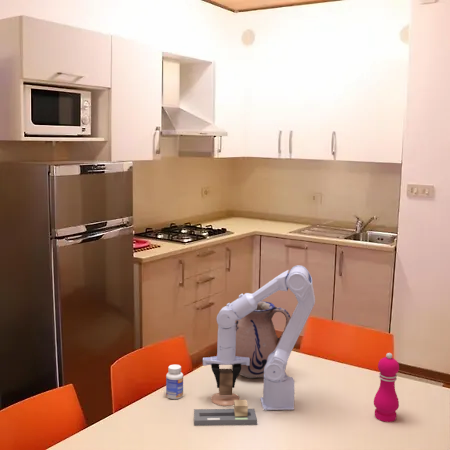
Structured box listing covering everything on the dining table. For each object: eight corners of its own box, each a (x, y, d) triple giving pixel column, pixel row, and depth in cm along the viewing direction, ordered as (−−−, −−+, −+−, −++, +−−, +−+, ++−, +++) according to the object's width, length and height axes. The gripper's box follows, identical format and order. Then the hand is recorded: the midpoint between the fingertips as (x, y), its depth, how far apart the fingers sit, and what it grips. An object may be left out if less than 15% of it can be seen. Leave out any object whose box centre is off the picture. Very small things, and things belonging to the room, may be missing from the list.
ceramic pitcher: (231, 362, 211) (233, 296, 207) (289, 366, 208) (291, 299, 204) (225, 381, 194) (226, 310, 190) (287, 386, 191) (290, 314, 187)
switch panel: (254, 413, 171) (254, 408, 171) (257, 424, 164) (257, 419, 164) (194, 413, 170) (194, 408, 170) (194, 425, 163) (194, 420, 163)
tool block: (231, 389, 182) (231, 368, 181) (232, 395, 178) (232, 373, 177) (218, 389, 182) (219, 368, 181) (219, 395, 178) (219, 373, 177)
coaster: (238, 393, 185) (238, 391, 185) (240, 405, 176) (241, 404, 176) (210, 393, 184) (210, 392, 184) (211, 406, 175) (211, 404, 175)
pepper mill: (384, 425, 166) (388, 359, 163) (367, 414, 172) (371, 350, 169) (403, 419, 169) (407, 355, 166) (385, 409, 175) (389, 347, 173)
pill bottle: (180, 400, 179) (180, 370, 177) (163, 398, 180) (164, 369, 178) (185, 393, 184) (185, 364, 183) (169, 391, 185) (169, 362, 184)
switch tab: (246, 410, 169) (246, 399, 169) (247, 416, 165) (247, 405, 165) (233, 410, 169) (234, 399, 169) (235, 416, 165) (235, 406, 165)
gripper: (248, 340, 182) (247, 381, 184) (202, 340, 181) (202, 381, 183) (250, 348, 175) (249, 390, 177) (203, 348, 174) (202, 390, 176)
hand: (225, 386), depth 180 cm, fingers closed on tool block, 4 cm apart
